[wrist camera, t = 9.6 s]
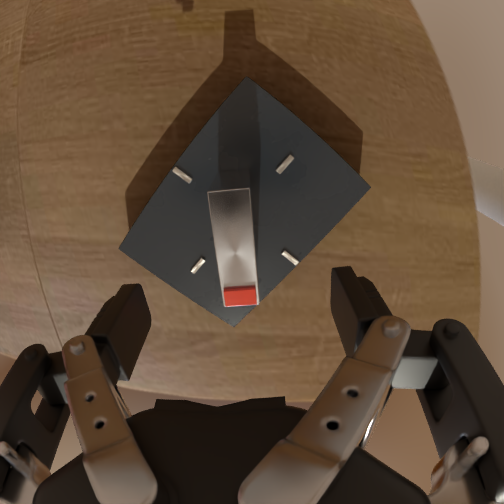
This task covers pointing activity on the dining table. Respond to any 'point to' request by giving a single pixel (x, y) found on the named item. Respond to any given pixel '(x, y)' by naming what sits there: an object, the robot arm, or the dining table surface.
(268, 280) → the base
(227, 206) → the tap handle
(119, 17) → the dining table surface
